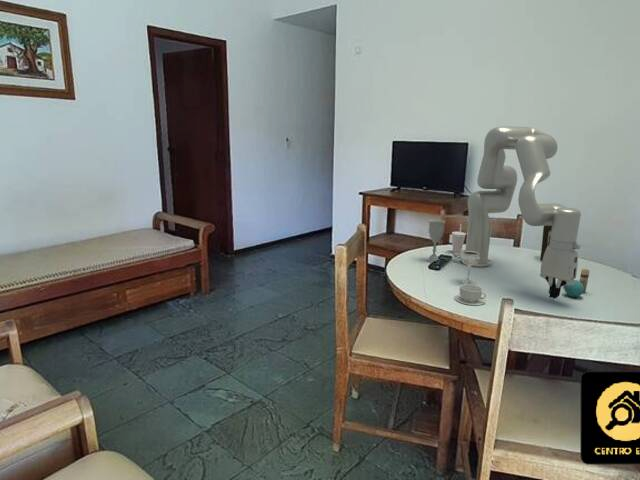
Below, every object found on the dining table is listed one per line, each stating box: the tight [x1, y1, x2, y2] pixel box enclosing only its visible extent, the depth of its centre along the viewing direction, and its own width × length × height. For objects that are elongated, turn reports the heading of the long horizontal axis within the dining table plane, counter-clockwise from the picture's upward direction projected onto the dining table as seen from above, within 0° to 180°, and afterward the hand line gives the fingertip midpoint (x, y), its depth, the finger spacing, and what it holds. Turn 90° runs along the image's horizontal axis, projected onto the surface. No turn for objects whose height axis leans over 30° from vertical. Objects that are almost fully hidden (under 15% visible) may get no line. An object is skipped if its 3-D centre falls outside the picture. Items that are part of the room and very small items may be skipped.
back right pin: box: [579, 268, 590, 294], centre depth 153 cm, size 2×2×8 cm
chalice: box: [427, 219, 446, 263], centre depth 186 cm, size 7×7×18 cm
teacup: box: [454, 283, 487, 306], centre depth 145 cm, size 10×10×5 cm
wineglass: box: [460, 249, 480, 285], centre depth 161 cm, size 7×7×12 cm
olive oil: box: [540, 226, 552, 262], centre depth 188 cm, size 11×11×25 cm
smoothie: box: [451, 223, 467, 254], centre depth 200 cm, size 6×6×14 cm
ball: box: [563, 279, 584, 298], centre depth 149 cm, size 6×6×6 cm
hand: (553, 297), depth 145 cm, fingers closed
